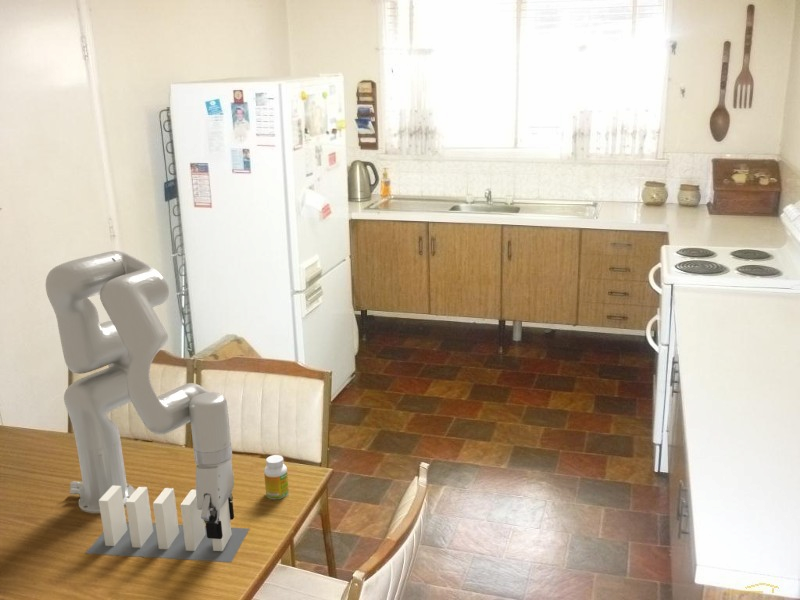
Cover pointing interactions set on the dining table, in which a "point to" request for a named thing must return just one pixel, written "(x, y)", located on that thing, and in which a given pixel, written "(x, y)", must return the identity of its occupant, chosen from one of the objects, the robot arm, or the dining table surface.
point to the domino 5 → (223, 527)
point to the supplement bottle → (276, 477)
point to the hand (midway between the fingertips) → (220, 527)
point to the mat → (172, 547)
